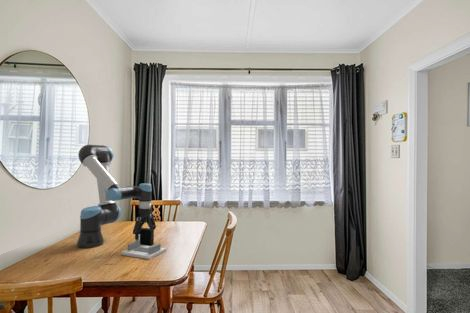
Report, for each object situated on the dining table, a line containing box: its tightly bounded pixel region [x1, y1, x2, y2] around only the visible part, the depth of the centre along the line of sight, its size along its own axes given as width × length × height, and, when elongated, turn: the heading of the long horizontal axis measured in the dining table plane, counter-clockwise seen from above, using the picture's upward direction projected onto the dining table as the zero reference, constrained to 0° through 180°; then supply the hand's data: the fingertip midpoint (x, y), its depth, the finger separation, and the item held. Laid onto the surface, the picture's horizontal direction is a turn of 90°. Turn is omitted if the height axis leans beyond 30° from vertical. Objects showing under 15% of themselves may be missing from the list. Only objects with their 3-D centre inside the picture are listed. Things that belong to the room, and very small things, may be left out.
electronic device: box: [139, 227, 155, 246], centre depth 175 cm, size 4×10×10 cm, turn 78°
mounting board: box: [120, 240, 167, 260], centre depth 159 cm, size 20×15×5 cm
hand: (144, 242), depth 174 cm, fingers open, 12 cm apart
